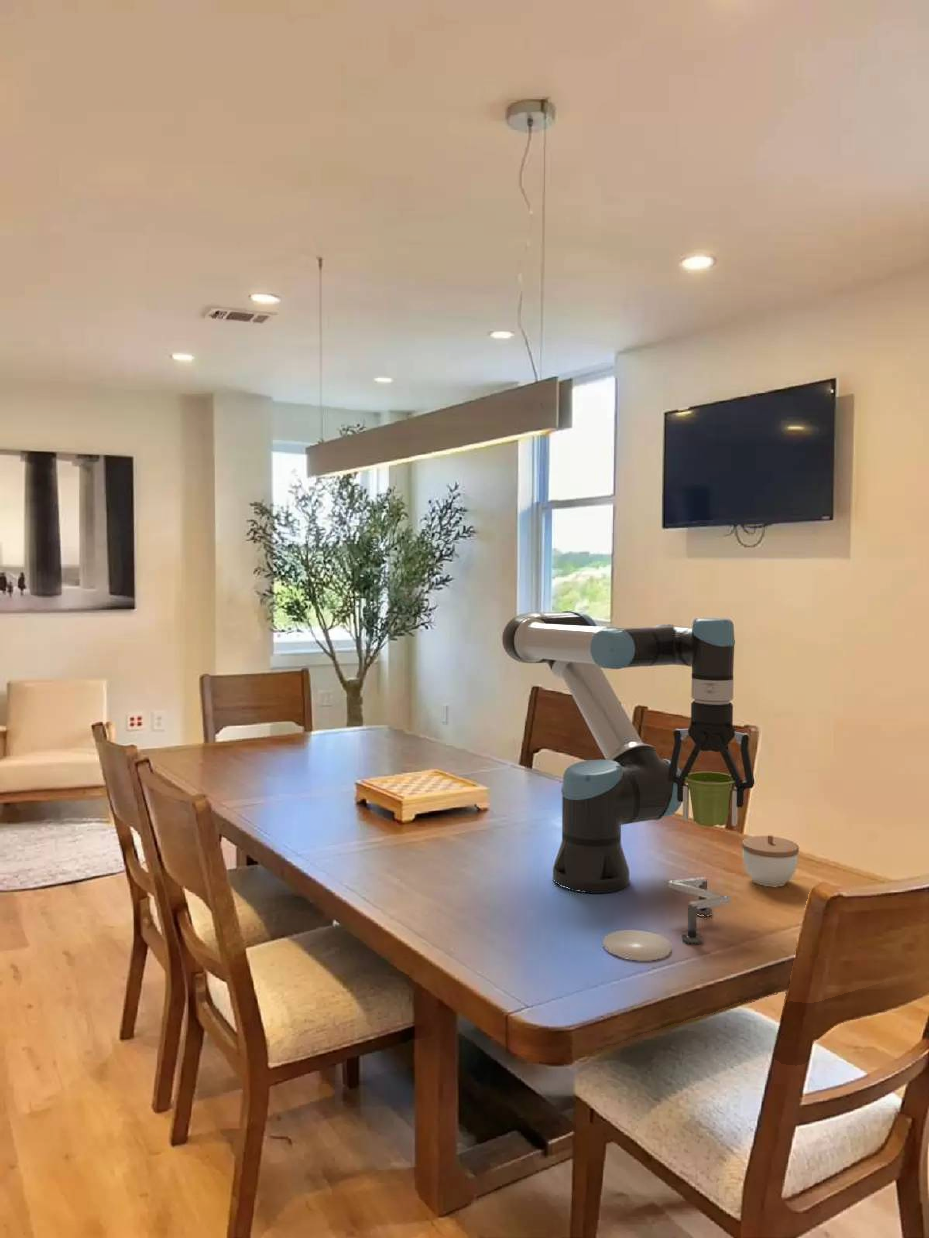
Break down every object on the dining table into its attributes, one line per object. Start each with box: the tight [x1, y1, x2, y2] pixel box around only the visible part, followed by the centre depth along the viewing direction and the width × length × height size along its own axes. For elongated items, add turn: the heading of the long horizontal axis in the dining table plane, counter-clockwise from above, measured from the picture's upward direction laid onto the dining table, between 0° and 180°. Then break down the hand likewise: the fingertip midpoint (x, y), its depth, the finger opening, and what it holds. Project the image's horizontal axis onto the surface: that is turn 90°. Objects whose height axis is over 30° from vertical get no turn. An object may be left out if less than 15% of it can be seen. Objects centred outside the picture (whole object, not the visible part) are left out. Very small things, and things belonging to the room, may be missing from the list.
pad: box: [603, 929, 672, 962], centre depth 150 cm, size 11×11×1 cm
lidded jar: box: [741, 834, 800, 887], centre depth 181 cm, size 11×11×9 cm
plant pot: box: [685, 771, 735, 827], centre depth 170 cm, size 9×9×9 cm
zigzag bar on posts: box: [667, 876, 732, 945], centre depth 158 cm, size 11×16×7 cm
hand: (709, 821), depth 170 cm, fingers closed on plant pot, 8 cm apart
